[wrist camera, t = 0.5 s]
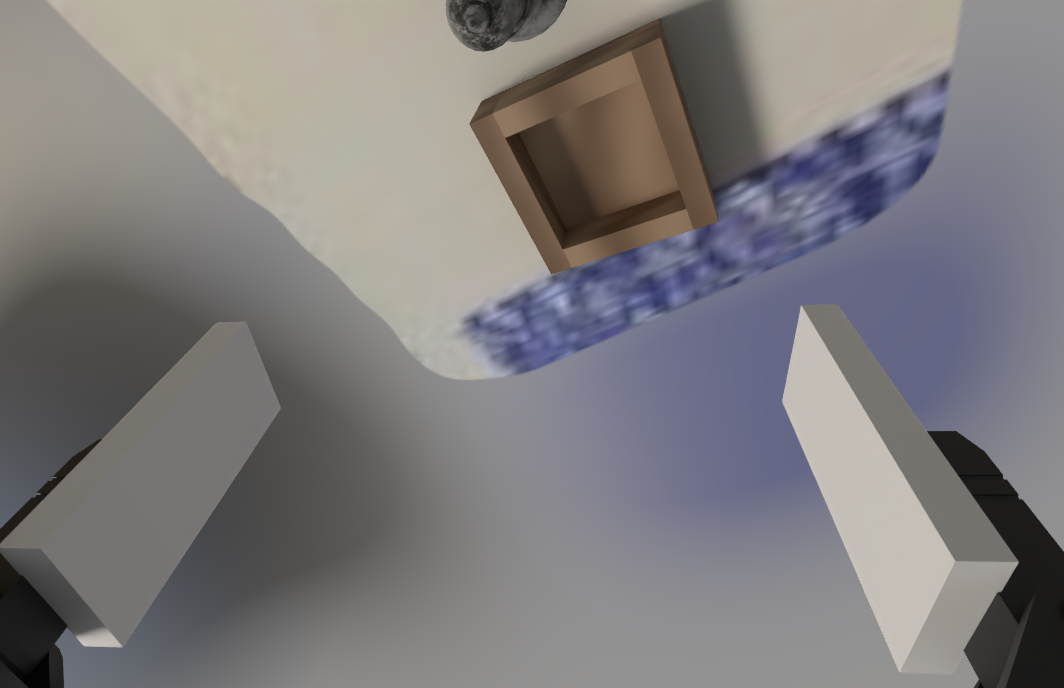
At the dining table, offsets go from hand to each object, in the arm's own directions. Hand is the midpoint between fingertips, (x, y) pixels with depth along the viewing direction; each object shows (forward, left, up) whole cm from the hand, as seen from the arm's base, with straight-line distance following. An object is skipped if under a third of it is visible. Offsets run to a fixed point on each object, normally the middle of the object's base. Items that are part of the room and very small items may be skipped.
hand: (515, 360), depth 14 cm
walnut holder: (+2, +6, -25) cm, 26 cm away
